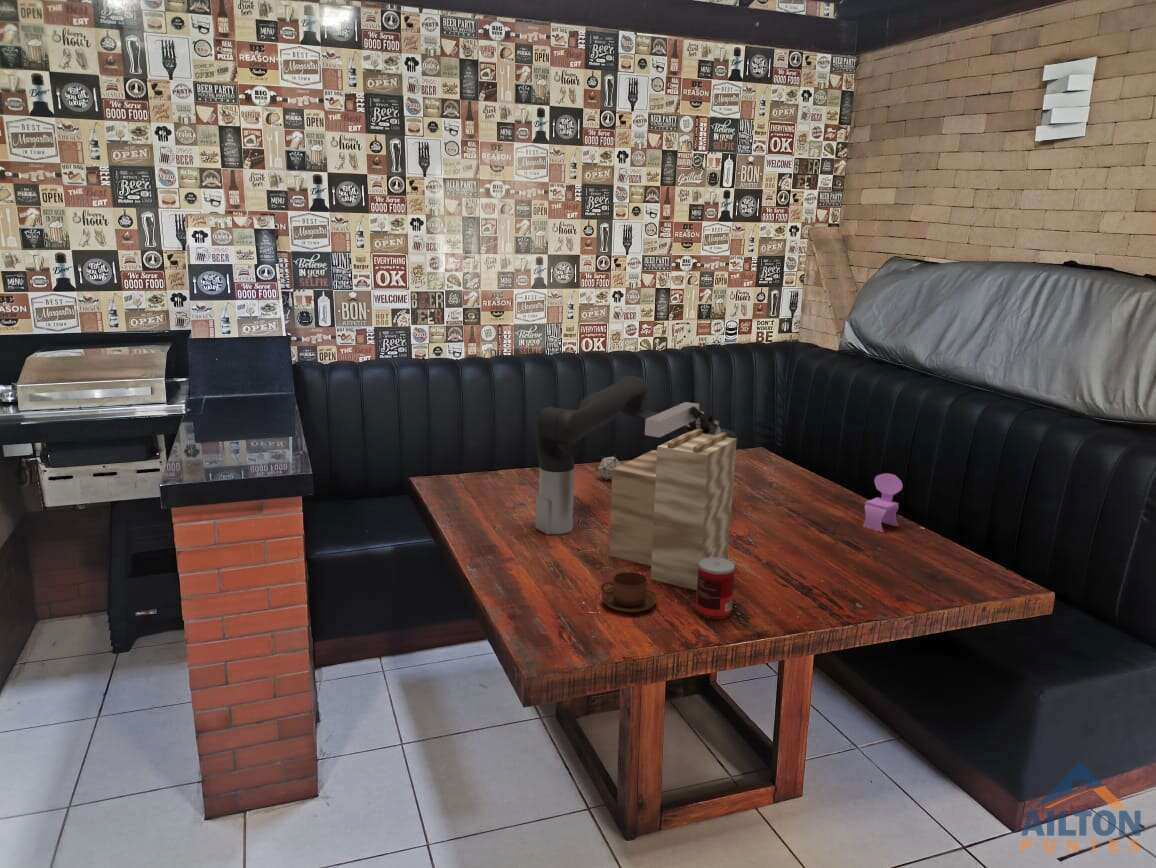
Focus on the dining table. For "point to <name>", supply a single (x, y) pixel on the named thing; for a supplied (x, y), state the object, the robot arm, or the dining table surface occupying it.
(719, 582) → the canned food
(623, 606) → the cup and saucer
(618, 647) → the dining table surface
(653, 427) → the bar
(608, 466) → the game die
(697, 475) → the stand
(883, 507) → the toy chair
